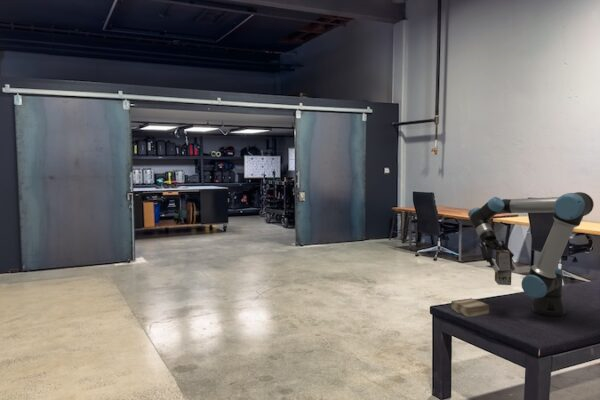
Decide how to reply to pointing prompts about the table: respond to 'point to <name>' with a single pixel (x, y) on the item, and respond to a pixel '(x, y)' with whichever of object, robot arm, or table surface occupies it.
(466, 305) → the birch block
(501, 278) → the coffee box
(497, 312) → the table surface
